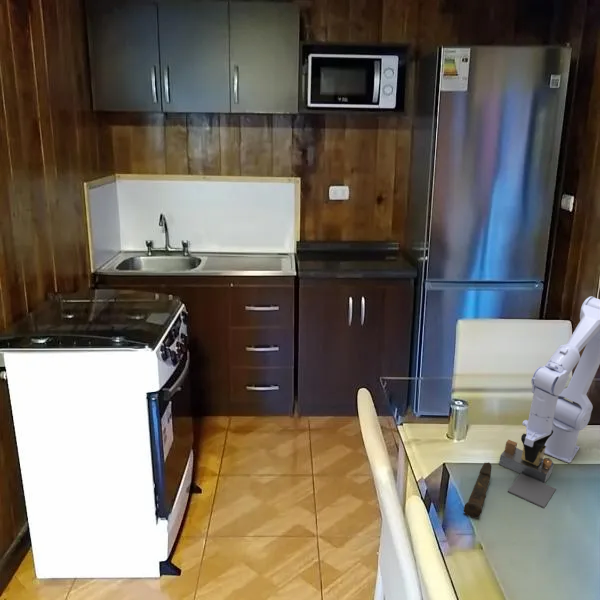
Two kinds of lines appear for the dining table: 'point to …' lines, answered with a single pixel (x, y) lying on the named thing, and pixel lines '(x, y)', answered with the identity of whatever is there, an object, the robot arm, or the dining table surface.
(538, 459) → the tan cube
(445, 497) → the dining table surface
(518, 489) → the mat
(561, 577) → the dining table surface
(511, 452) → the body
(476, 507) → the hand tool
